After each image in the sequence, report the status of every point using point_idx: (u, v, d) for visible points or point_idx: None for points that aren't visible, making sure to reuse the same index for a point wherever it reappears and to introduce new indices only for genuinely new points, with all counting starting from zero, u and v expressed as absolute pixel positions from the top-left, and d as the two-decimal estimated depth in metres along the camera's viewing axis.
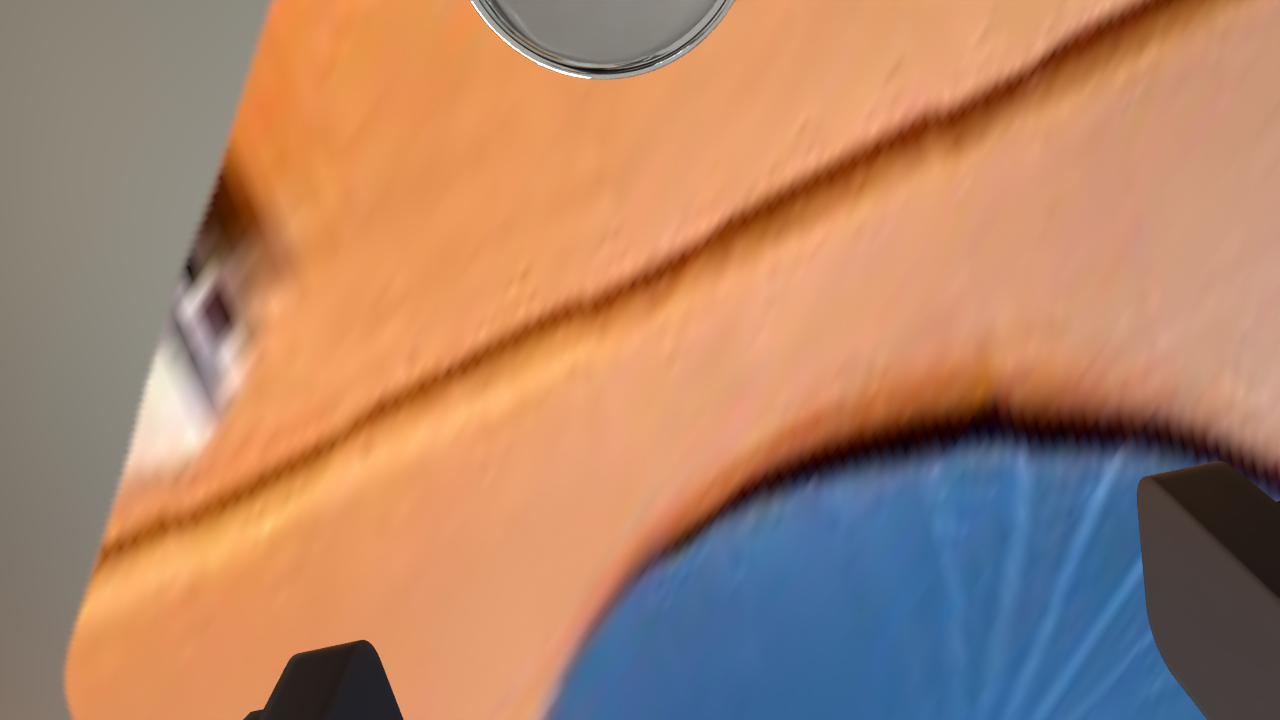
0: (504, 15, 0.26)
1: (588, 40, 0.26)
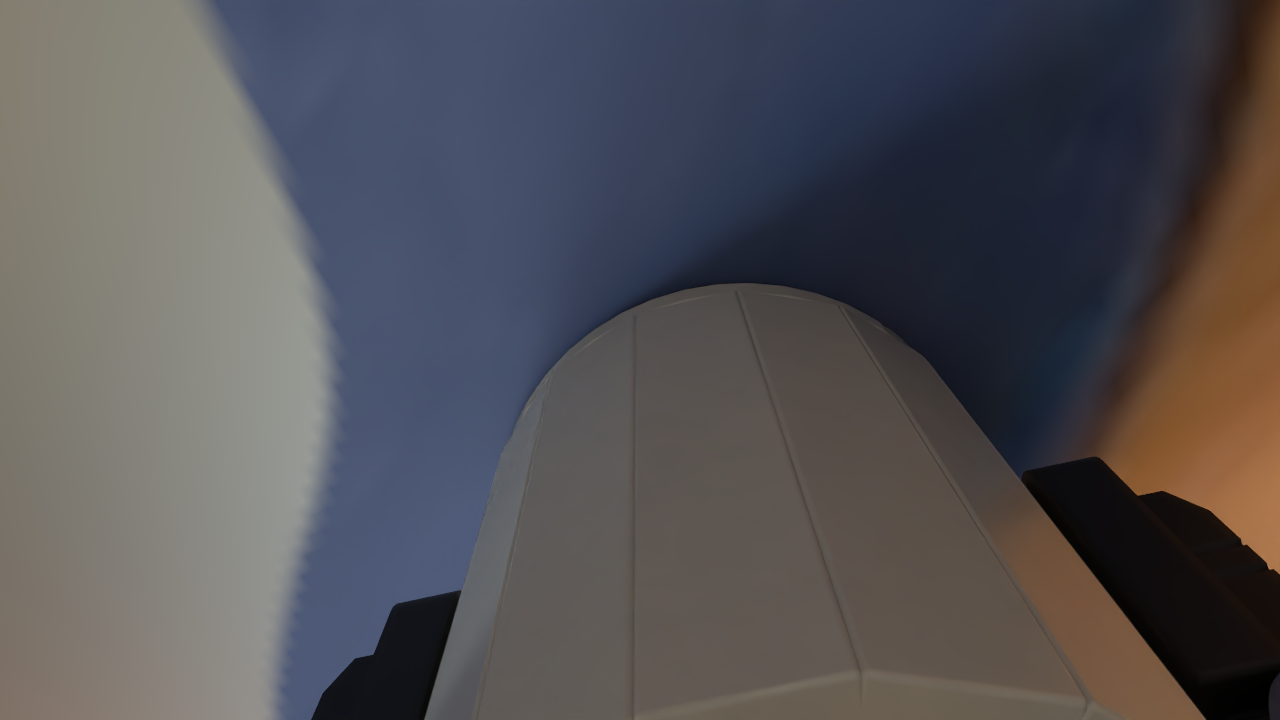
0: None
1: None
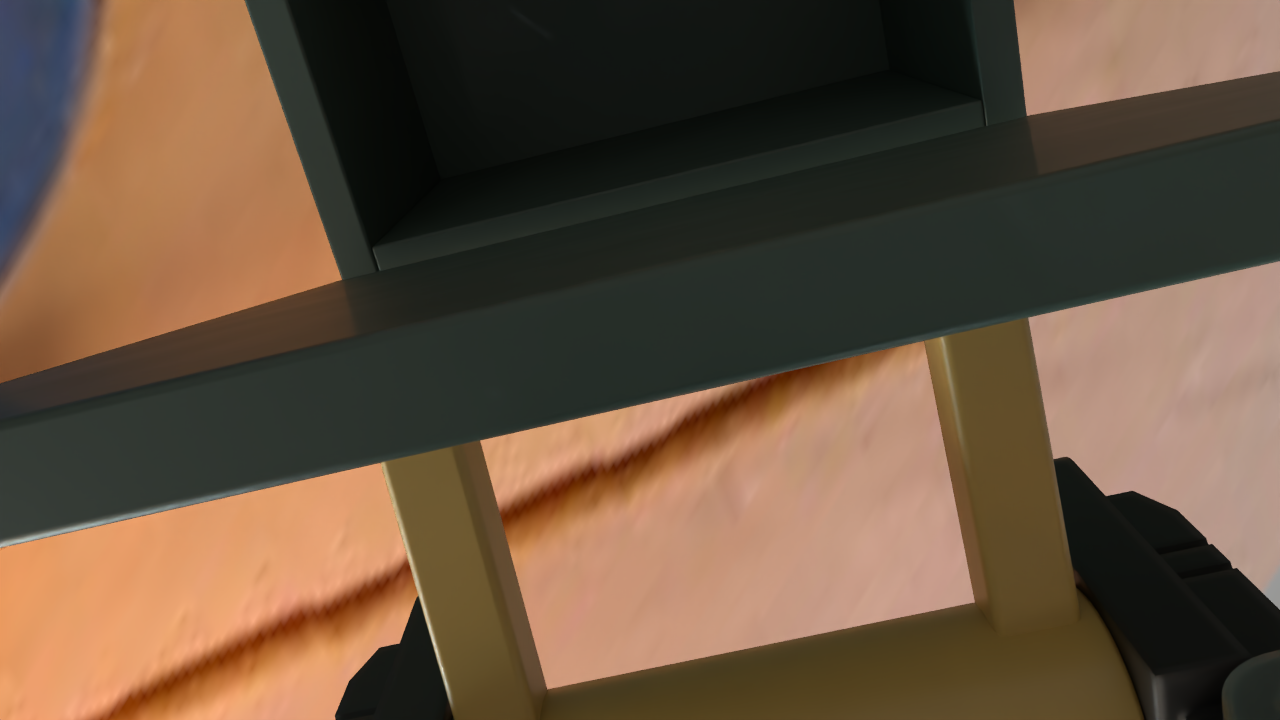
0: None
1: None
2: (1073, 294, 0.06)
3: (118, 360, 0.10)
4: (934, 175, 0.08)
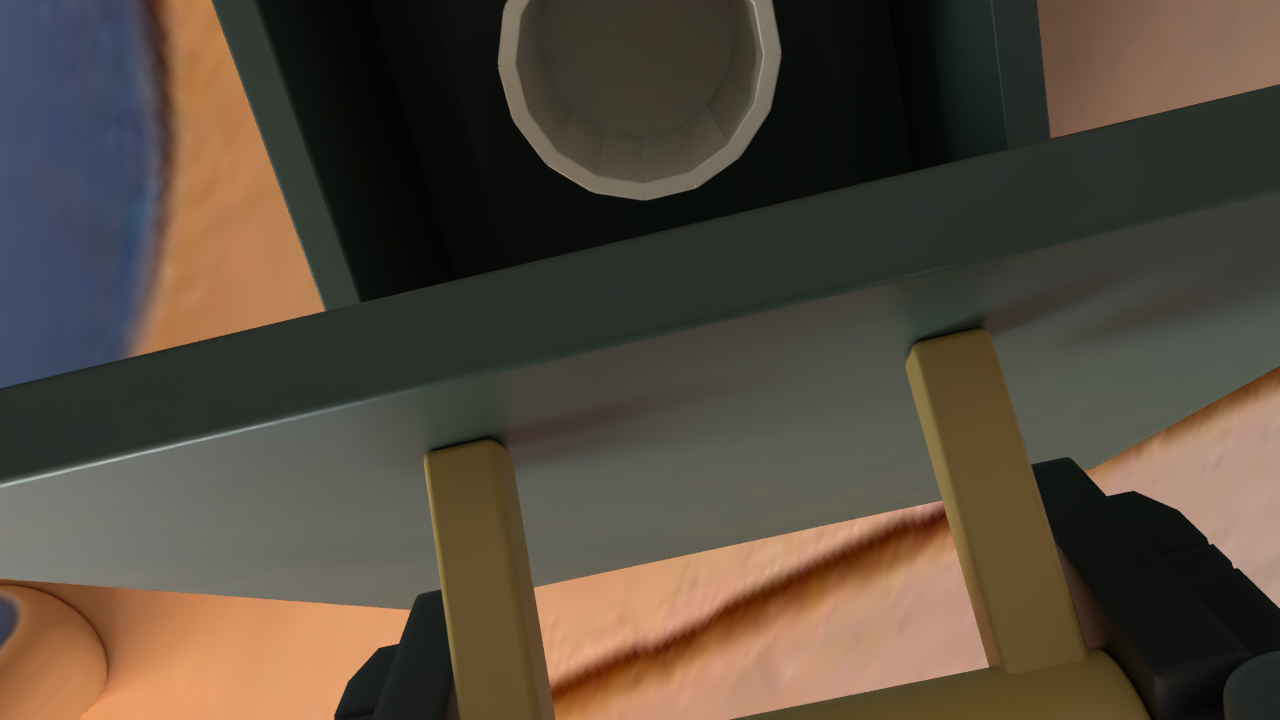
0: None
1: None
2: (996, 243, 0.07)
3: None
4: None
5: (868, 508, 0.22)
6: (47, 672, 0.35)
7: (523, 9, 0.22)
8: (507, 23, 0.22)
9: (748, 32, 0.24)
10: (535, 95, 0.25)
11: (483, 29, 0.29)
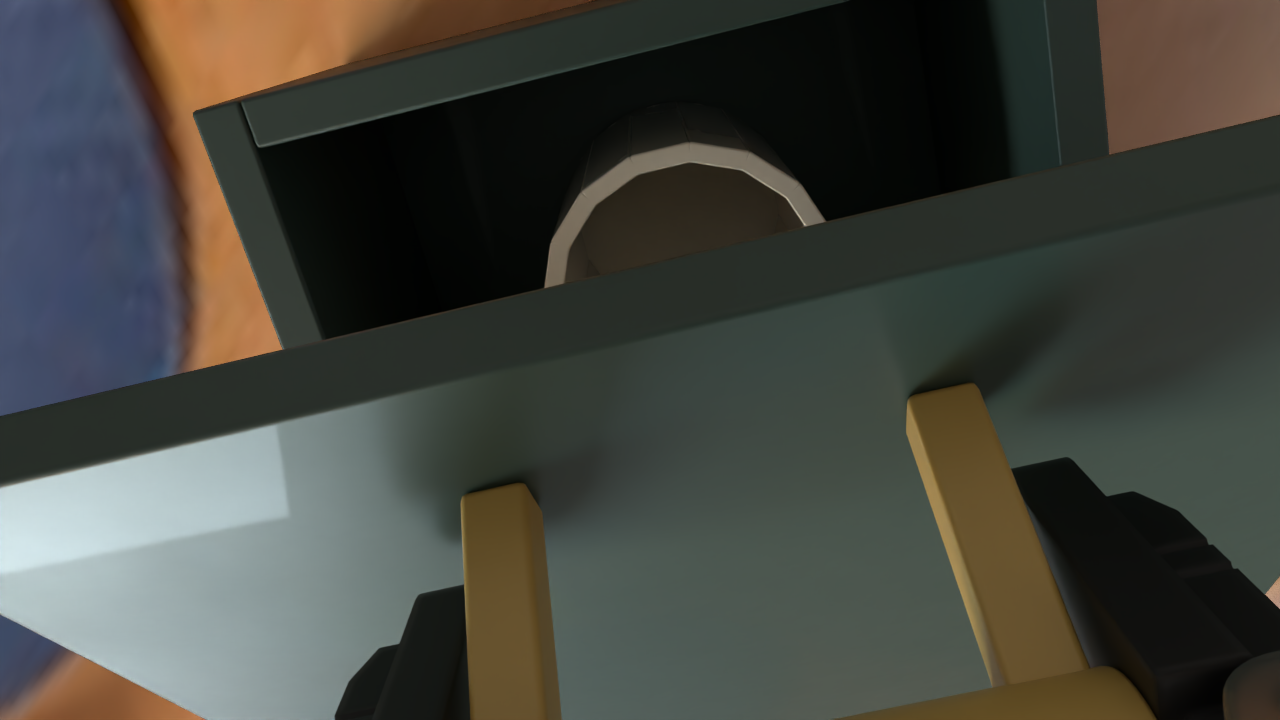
0: None
1: None
2: (956, 255, 0.09)
3: None
4: None
5: None
6: None
7: (571, 244, 0.21)
8: (554, 258, 0.21)
9: None
10: None
11: (517, 205, 0.28)
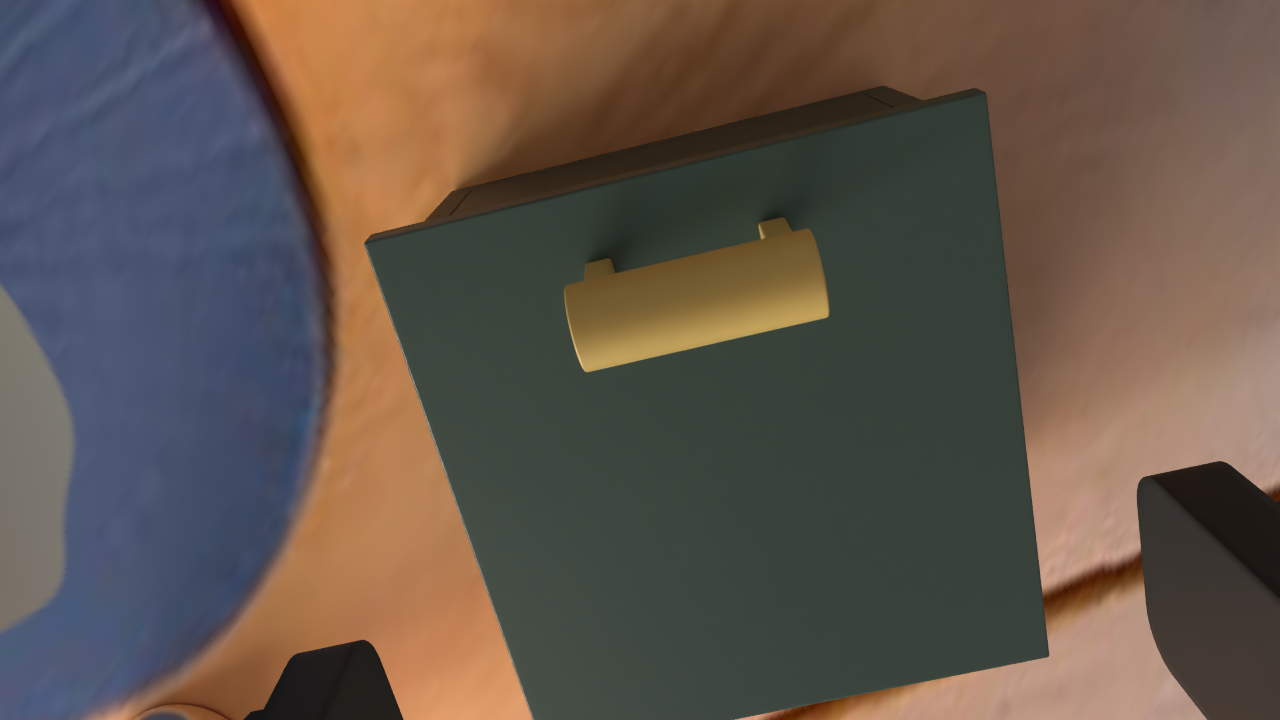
0: None
1: None
2: (759, 145, 0.26)
3: None
4: None
5: (868, 647, 0.31)
6: None
7: None
8: None
9: None
10: None
11: None
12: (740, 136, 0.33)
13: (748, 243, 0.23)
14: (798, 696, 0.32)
